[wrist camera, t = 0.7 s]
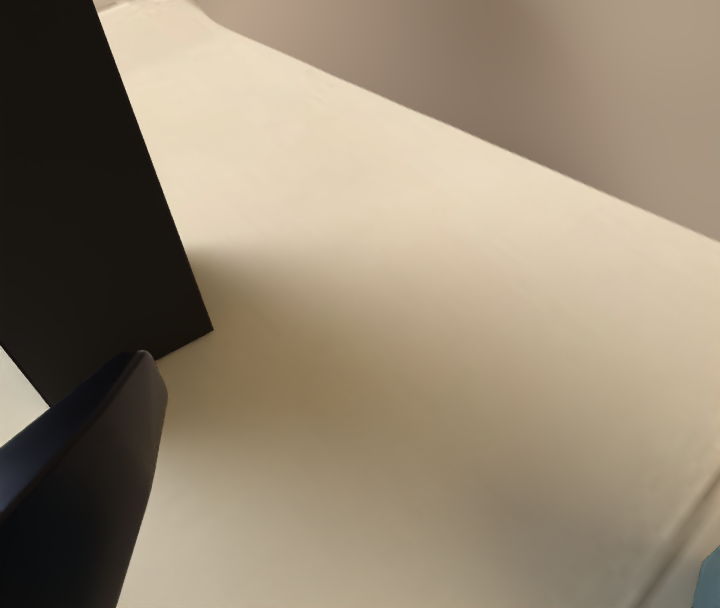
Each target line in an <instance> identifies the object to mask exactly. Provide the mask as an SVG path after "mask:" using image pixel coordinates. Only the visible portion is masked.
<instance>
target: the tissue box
mask: <svg viewBox="0 0 720 608" xmlns="http://www.w3.org/2000/svg"><path fill="white" fill-rule="evenodd" d="M213 330H214V329H213V326H212V323H211V321H210V318H209V315H208V312H207V310H206V307H205V304H204V302H203V299H202V296H201V293H200V291H199V288H198V285H197V283H196V280H195V277H194V274H193V272H192V269H191V266H190V264H189V261H188V258H187V255H186V253H185V250H184V247H183V245H182V242H181V239H180V236H179V234H178V231H177V228H176V226H175V223H174V220H173V217H172V215H171V212H170V209H169V207H168V204H167V201H166V198H165V196H164V193H163V190H162V188H161V185H160V182H159V179H158V177H157V174H156V171H155V169H154V166H153V163H152V161H151V158H150V155H149V152H148V150H147V147H146V144H145V142H144V139H143V136H142V133H141V131H140V128H139V125H138V123H137V120H136V117H135V114H134V112H133V109H132V106H131V104H130V101H129V98H128V95H127V93H126V90H125V87H124V85H123V82H122V79H121V76H120V74H119V71H118V68H117V66H116V63H115V60H114V57H113V55H112V52H111V49H110V47H109V44H108V41H107V38H106V36H105V33H104V30H103V28H102V25H101V22H100V19H99V17H98V14H97V11H96V9H95V6H94V3H93V0H0V345H1V347H2V348H3V349H4V350H5V352H6V353H7V354H8V355H9V357H10V358H11V359H12V360H13V362H14V363H15V364H16V365H17V367H18V368H19V369H20V370H21V372H22V373H23V374H24V375H25V377H26V378H27V379H28V380H29V382H30V383H31V384H32V385H33V387H34V388H35V389H36V390H37V392H38V393H39V394H40V395H41V397H42V398H43V399H44V400H45V402H46V403H47V404H48V405H49V407H50V408H51V407H52V406H53V405H55V404H56V403H57V402H58V401H60V400H61V399H62V398H63V397H65V396H66V395H67V394H68V393H70V392H71V391H72V390H73V389H75V388H76V387H77V386H78V385H80V384H81V383H82V382H83V381H85V380H86V379H87V378H88V377H90V376H91V375H92V374H93V373H95V372H96V371H97V370H98V369H100V368H101V367H102V366H103V365H105V364H106V363H107V362H108V361H110V360H111V359H112V358H113V357H115V356H116V355H117V354H119V353H120V352H124V351H136V350H145V351H148V352H149V353H150V354H151V355H152V357H153V359H154V361H156V360H158V359H160V358H162V357H164V356H165V355H167V354H169V353H171V352H173V351H175V350H177V349H179V348H181V347H183V346H185V345H186V344H188V343H190V342H192V341H194V340H196V339H198V338H200V337H202V336H204V335H206V334H207V333H209V332H211V331H213Z"/></svg>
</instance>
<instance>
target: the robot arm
mask: <svg viewBox="0 0 720 608" xmlns="http://www.w3.org/2000/svg"><path fill="white" fill-rule="evenodd" d="M167 399H168V395H167V389H166V386H165V383H164V381H163V379H162V377H161V375H160V372H159V370H158V368H157V366H156V364H155V361H154V359H153V357H152V355H151V354H150V353H149V352H148V351H145V350H136V351H124V352H120V353H119V354H117V355H116V356H115V357H113V358H112V359H111V360H110V361H108V362H107V363H106V364H105V365H103V366H102V367H101V368H100V369H98V370H97V371H96V372H95V373H93V374H92V375H91V376H90V377H88V378H87V379H86V380H85V381H83V382H82V383H81V384H80V385H78V386H77V387H76V388H75V389H73V390H72V391H71V392H70V393H68V394H67V395H66V396H65V397H63V398H62V399H61V400H60V401H58V402H57V403H56V404H55V405H53V406H52V407H51V408H50V409H48V410H47V411H46V412H45V413H43V414H42V415H41V416H40V417H38V418H37V419H36V420H35V421H33V422H32V423H31V424H30V425H28V426H27V427H26V428H25V429H23V430H22V431H21V432H20V433H18V434H17V435H16V436H14V437H13V438H12V439H11V440H9V441H8V442H7V443H6V444H4V445H3V446H2V447H1V448H0V608H116V606H117V603H118V599H119V596H120V593H121V589H122V586H123V583H124V579H125V576H126V573H127V569H128V566H129V563H130V559H131V556H132V553H133V550H134V546H135V543H136V540H137V536H138V533H139V530H140V526H141V523H142V520H143V516H144V513H145V510H146V506H147V503H148V499H149V495H150V492H151V488H152V483H153V478H154V473H155V468H156V462H157V457H158V451H159V446H160V440H161V434H162V429H163V423H164V418H165V412H166V407H167Z"/></svg>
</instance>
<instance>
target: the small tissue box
mask: <svg viewBox="0 0 720 608" xmlns="http://www.w3.org/2000/svg"><path fill="white" fill-rule="evenodd" d="M692 608H720V545H719V546H718V547H717V548H716V549H715V550H714V551H713V552H712V553H711V554H710V555H709V556H708V557H707V558H706V559H705V560H704V561H703V562H702V566H701V570H700V575H699V579H698V583H697V587H696V591H695V595H694V600H693V604H692Z"/></svg>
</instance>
